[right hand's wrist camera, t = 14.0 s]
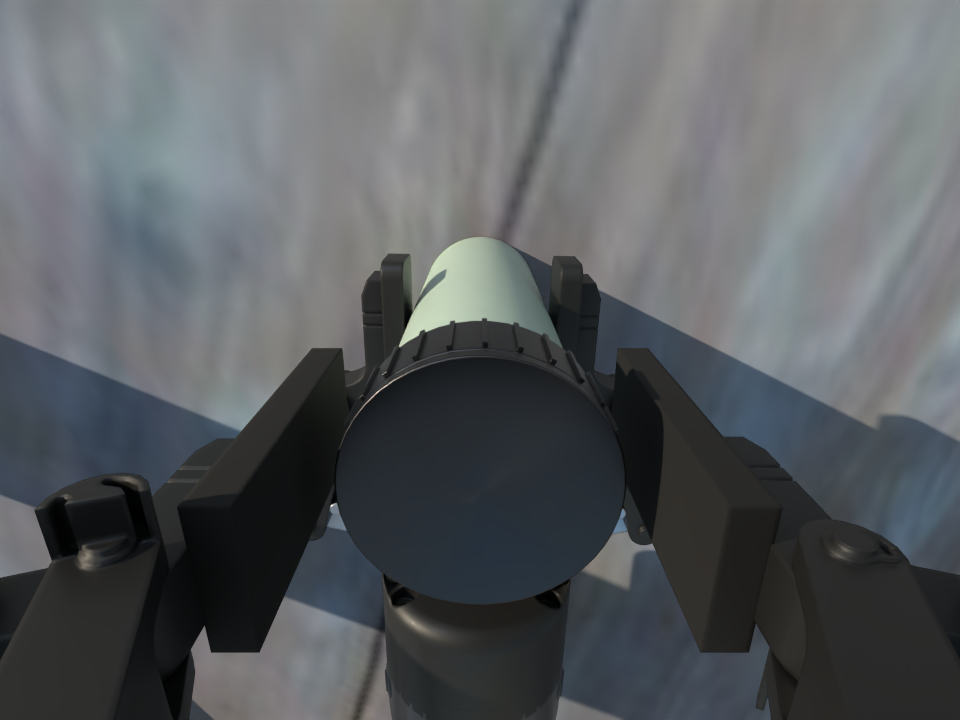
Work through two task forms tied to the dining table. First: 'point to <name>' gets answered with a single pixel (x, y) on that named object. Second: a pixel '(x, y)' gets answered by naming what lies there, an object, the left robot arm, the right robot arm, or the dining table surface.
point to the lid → (480, 465)
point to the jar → (480, 290)
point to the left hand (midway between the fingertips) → (482, 261)
